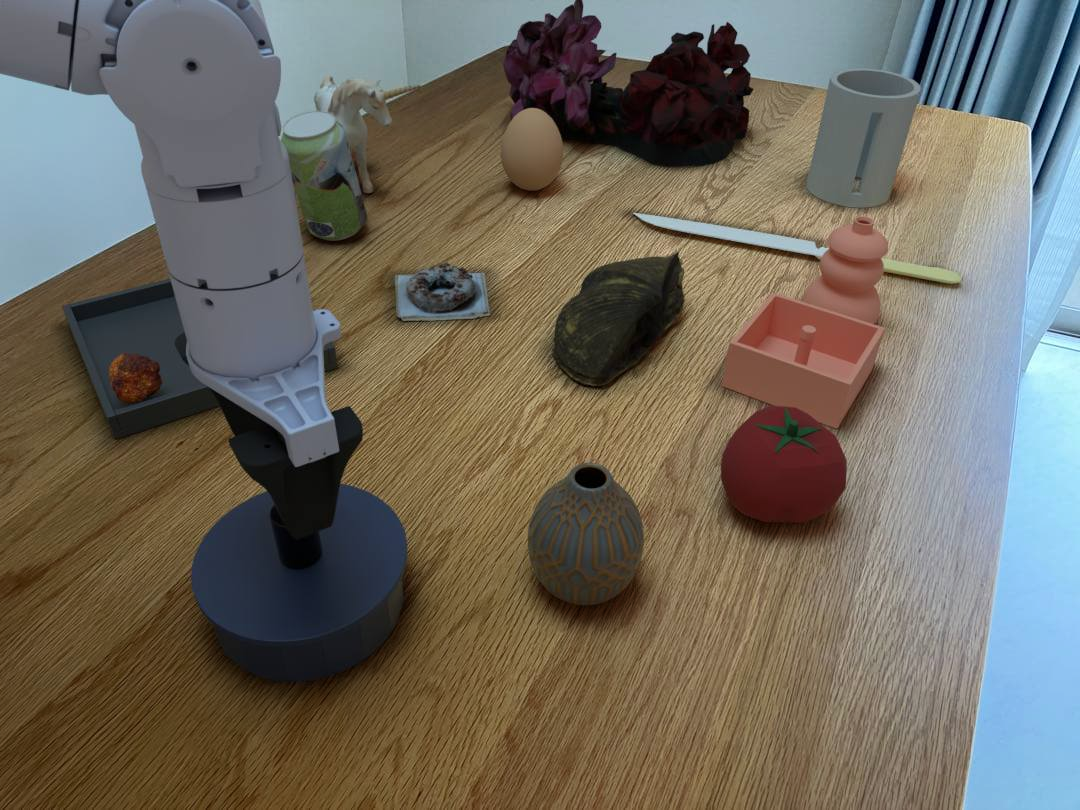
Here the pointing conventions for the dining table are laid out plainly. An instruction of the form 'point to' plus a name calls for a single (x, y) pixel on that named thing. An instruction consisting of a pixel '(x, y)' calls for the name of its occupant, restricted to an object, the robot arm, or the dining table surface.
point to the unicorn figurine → (357, 112)
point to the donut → (441, 294)
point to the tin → (316, 648)
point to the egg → (532, 150)
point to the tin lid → (298, 570)
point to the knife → (793, 246)
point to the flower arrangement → (633, 90)
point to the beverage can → (324, 175)
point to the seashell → (617, 317)
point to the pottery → (816, 332)
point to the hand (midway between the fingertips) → (285, 483)
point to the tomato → (783, 466)
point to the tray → (145, 329)
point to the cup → (862, 136)
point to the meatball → (134, 377)
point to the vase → (585, 537)
